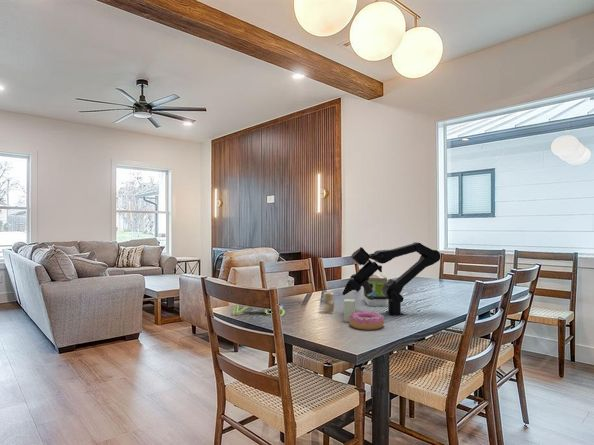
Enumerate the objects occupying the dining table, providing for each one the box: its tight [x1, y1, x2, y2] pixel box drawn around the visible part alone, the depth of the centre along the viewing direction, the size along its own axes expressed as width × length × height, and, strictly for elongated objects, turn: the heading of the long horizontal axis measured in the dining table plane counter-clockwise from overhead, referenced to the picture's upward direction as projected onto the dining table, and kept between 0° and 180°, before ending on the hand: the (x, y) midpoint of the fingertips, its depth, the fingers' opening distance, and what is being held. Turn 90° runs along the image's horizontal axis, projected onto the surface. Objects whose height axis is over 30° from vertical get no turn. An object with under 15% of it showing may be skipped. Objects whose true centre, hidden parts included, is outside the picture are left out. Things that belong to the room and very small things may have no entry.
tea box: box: [363, 273, 388, 307], centre depth 201 cm, size 15×10×15 cm, turn 179°
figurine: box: [232, 303, 286, 318], centre depth 182 cm, size 18×27×6 cm
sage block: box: [343, 298, 356, 323], centre depth 165 cm, size 4×4×9 cm
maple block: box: [323, 291, 335, 314], centre depth 182 cm, size 4×4×9 cm
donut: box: [349, 310, 385, 331], centre depth 157 cm, size 14×14×5 cm
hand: (342, 294), depth 179 cm, fingers closed
